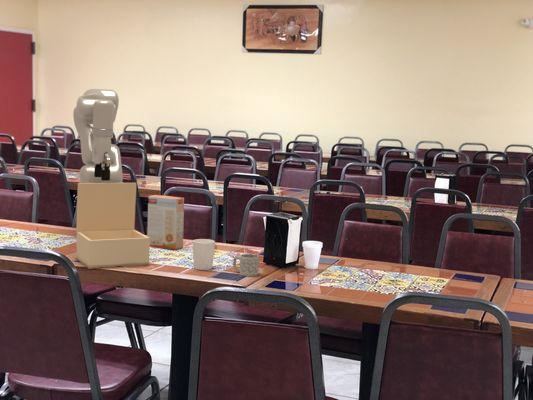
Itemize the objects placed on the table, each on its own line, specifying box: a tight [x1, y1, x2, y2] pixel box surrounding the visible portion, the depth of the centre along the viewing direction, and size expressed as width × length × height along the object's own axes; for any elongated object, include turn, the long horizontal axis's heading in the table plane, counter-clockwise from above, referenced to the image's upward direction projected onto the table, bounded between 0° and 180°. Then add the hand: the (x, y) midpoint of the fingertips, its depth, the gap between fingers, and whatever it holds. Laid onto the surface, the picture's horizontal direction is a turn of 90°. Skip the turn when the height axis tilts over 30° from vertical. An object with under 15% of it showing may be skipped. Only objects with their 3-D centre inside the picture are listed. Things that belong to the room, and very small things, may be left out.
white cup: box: [192, 238, 216, 271], centre depth 276 cm, size 8×8×10 cm
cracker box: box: [146, 194, 185, 251], centre depth 311 cm, size 14×6×21 cm, turn 63°
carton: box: [75, 229, 151, 270], centre depth 280 cm, size 18×22×10 cm
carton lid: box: [75, 182, 137, 233], centre depth 288 cm, size 18×22×6 cm
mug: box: [232, 253, 260, 277], centre depth 271 cm, size 10×7×7 cm, turn 59°
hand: (102, 178), depth 291 cm, fingers open, 9 cm apart
